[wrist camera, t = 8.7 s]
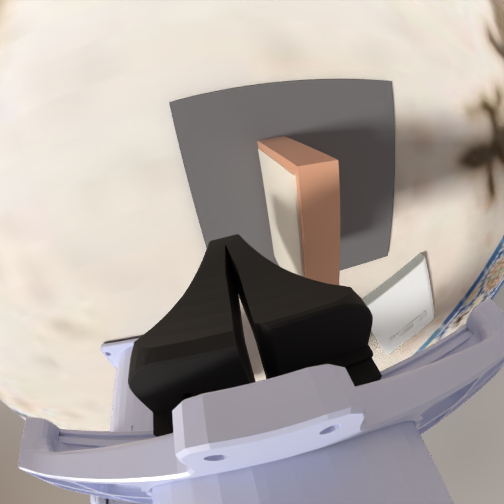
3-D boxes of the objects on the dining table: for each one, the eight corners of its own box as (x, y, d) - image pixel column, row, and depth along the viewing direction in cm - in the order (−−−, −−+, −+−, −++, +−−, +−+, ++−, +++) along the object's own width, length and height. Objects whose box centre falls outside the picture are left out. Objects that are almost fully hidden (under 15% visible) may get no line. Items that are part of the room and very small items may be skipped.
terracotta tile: (296, 251, 19) (336, 315, 13) (273, 257, 19) (306, 325, 13) (284, 136, 15) (338, 160, 9) (255, 140, 14) (294, 166, 9)
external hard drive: (416, 249, 23) (429, 310, 29) (352, 300, 24) (381, 348, 31) (426, 258, 22) (436, 318, 28) (360, 311, 23) (386, 357, 29)
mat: (385, 253, 21) (387, 255, 21) (222, 298, 20) (223, 301, 20) (387, 81, 14) (391, 81, 13) (170, 102, 13) (169, 102, 12)
